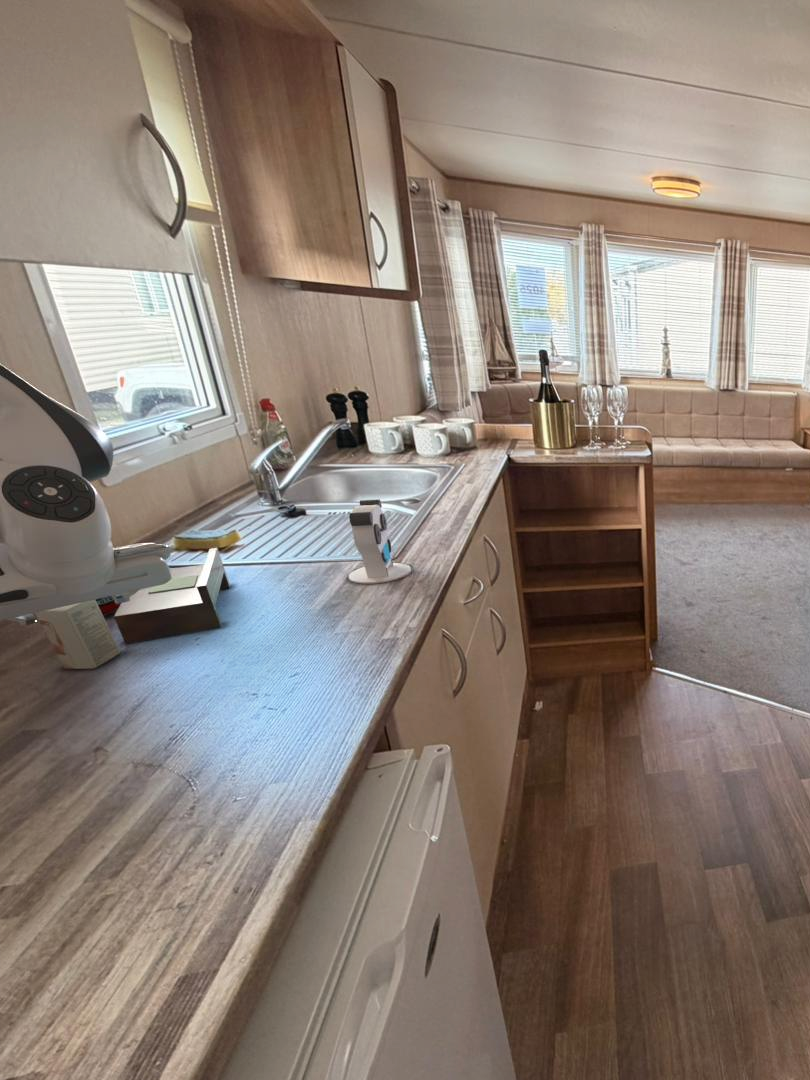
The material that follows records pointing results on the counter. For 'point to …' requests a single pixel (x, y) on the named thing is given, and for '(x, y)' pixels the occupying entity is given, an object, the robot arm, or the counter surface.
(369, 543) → the panda figurine
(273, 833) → the counter surface
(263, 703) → the counter surface
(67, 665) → the cream cardboard box
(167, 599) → the shelf
